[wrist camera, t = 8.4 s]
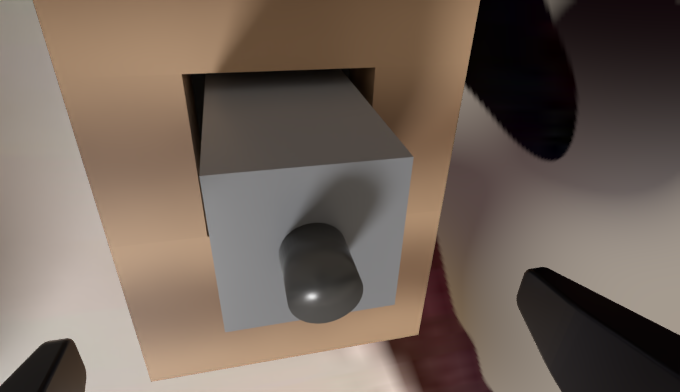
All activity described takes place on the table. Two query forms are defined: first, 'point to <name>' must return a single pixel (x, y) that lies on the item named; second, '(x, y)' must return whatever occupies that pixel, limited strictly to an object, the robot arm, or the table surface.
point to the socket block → (186, 134)
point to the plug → (300, 197)
